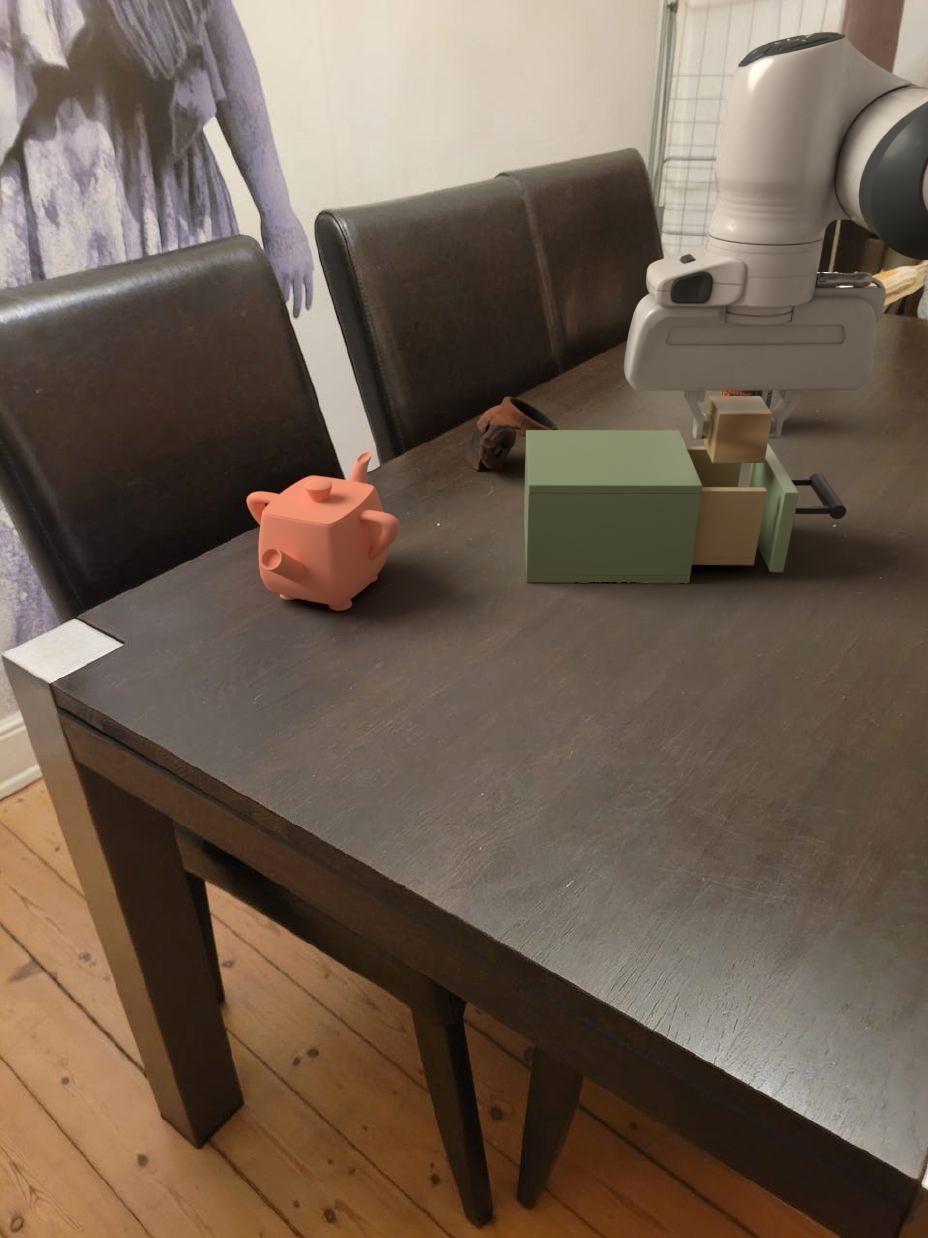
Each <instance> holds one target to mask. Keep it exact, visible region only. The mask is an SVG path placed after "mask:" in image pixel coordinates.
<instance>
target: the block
mask: <svg viewBox="0 0 928 1238" xmlns="http://www.w3.org/2000/svg"><path fill="white" fill-rule="evenodd" d="M707 403H708V404H707V411H706V414H711V416H712V418H713V420H714V427H713V430H712V432H713V434H712V439H703V441H702V442H703V443H702V444H703V446H705V448H706V450H707V452H708V455H709V457H710V459H711V461H712V463H741V464H751V463H764V462H765V456H766V450H767V444H768V443H769V439H768V438H769V433H770V427H771V421H772V415H773V414H772V410H770V409H771V408H770V409H769V408H768V407H767V405H766V404H765V402H764V401H763V399H762V398H761V397H760V396H721V395H720V396H719V395H718V396H717V395H716V396H715V395H712V396H711V395H710V396H709V397H708V402H707Z"/></svg>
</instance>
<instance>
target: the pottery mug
mask: <svg viewBox="0 0 928 1238" xmlns="http://www.w3.org/2000/svg"><path fill="white" fill-rule="evenodd" d="M516 430H519V435H520V436H521V437H524V438H526V430H559V428H558V426H557V425H556V424H555V423H554V422H553V421H552V419H550V418H549V417H548V416H547V415H545V413H543V412H542V411H540V410H538V409H537V408H536V407H534V406H532V405H531V404H530V403H527V402H526V401H523V400H521V399H519V398H516V397H513V396H505V397H504V398H503V400H502V402H501V404H499V405H495V406H493V407H491V408H488V410H486V411H485V412H484V413H483V414H482V415H481V416H480V418H479V419H478V420H477V422H476V424H475V426H474V429H473V431H472V434H471V437H470V440H469V444H468V449H467V453H466V454H465V455H466V457H465V458H466V460H467V462H468V464H469V465H470V466H471V467H473V469H474V470H475V471H477V472H479V471H480V470H481V468H482V463H483V465H484V466H485V468H487V469H488V470H495V471H498V470H502V468H503V465H504V464H505V461H506V458H507V456H508V454H509V453H510V452H511V450H512V448H513V447H514V446H515V444H516V438H517V431H516Z"/></svg>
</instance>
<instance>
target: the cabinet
mask: <svg viewBox="0 0 928 1238" xmlns="http://www.w3.org/2000/svg"><path fill="white" fill-rule="evenodd" d="M524 455H525V458H524V459H525V460H524V497H523V498H524V503H523V508H524V509H523V526H524V527H523V530H524V534H523V535H524V558H525V559H524V560H525V582H526V583H545V584H547V583H549V584H551V583H552V584H553V583H557V584H559V583H560V584H561V583H563V584H564V583H567V584H568V583H569V584H576V583H575V582H578V583H577V584H592V583H591V582H595V583H594V584H597V583H596V582H599V583H598V584H602V583H601V582H610V583H609V584H612V583H611V582H617V583H616V584H622V583H621V582H627V583H626V584H631V583H630V582H637V583H636V584H639V583H638V582H643V583H642V584H645V583H644V582H651V583H650V584H679V583H685V584H686V585H687V583H689V584H690V581H691V573H692V566H693V565H692V560H693V552H694V545H695V538H696V530H697V523H698V516H699V508H700V501H701V493H702V484H701V481H700V479H699V477H698V474H697V472H696V469H695V467H694V465H693V462H692V460H691V458H690V455H689V453H688V450H687V448H686V443H685V441H684V438H683V436H682V433H681V432H680V430H678V429H677V430H676V429H674V430H673V429H660V430H659V429H649V430H648V429H623V430H622V429H607V430H606V429H558V430H526V437H525V454H524ZM589 582H590V583H589ZM653 582H654V583H653ZM685 584H684V585H685Z"/></svg>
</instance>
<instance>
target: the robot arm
mask: <svg viewBox="0 0 928 1238" xmlns="http://www.w3.org/2000/svg"><path fill="white" fill-rule="evenodd" d="M724 103H725V104H724V107H723V108H724V109H723V113H722V119H721V124H720V129H719V135H718V136H719V138H718V142H717V143H718V144H717V150H716V156H715V157H716V158H715V166H714V180H715V187H716V201H715V207H714V211H713V214H712V215H711V219H710V221H709V223H708V228H707V235H706V242H705V244H702V245H700V246H697V247H694V248H691V249H689V250H686V251H683V252H680V253H676V254H674V255H671V256H668V257H664V258H662V259H658V260H655V261H653V262H652V263H650V264H649V265H648V267H647V269H646V276H645V284H646V285H645V286H646V289H647V291H648V294H646V295H645V296H644V297H642V298H641V299H640V301H639V302H638V303H637V305H636V307H635V309H634V311H633V315H632V319H631V322H630V326H629V330H628V336H627V340H626V347H625V353H624V363H623V372H624V377H625V379H626V381H627V383H628V384H629V385H630V387H631V388H632V389H633V390H634V391H636V392H683V396H684V398H685V400H686V402H687V404H688V407H689V408H690V411H691V412H692V415H693V423H692V436H693V438H694V439H695V440H704V439H712V434H713V432H712V430H713V427H714V420H713V418H712V416H711V414H707V413H703V412H702V410H701V408H700V406H699V404H698V403H704V402H705V398H706V392H710V391H711V392H718V391H719V392H722V391H757V390H773V391H777V393H778V394H779V396H780V400H779V401H778V403H777V404H776V406H775V407H774V408H773V409H772V410H771V412H772V414H773V415H772V421H771V427H770V433H769V438H768V440H779V439H780V438H781V436H782V432H783V431H782V430H783V424H784V421H786V420H787V419H788V418H789V417H790V415H791V414H792V413H793V411H795V409H796V408H797V407H798V406H799V404H800V403H801V399H802V394H803V391H856V390H857V391H858V390H860V389H861V388H862V387H863V386H864V385H865V384H866V383H867V382H868V381H869V380H870V379H871V376H872V371H873V364H874V358H875V351H876V350H875V349H876V331H877V325H876V324H878V322H879V321H880V320H881V318H882V316H883V312H884V307H885V304H886V299H887V290H886V287H885V285H884V284H883V282H882V281H881V280H880V279H878V278H876V277H873V275H872V273H870V272H865V271H855V272H852V273H845V272H837V271H835V272H834V271H832V272H831V271H830V272H825V271H819V268H820V261H821V257H822V251H823V245H824V240H825V235H826V229H827V228H828V226H829V225H830V224H831V223H832V222H834V221H838V220H839V221H841V220H848V221H850V220H851V221H852V222H853V223H855V224H856V225H858V226H860V227H862V228H864V229H866V230H868V231H870V232H871V233H873V234H874V235H875V236H876V237H877V238H878V239H880V241H882V242H883V243H884V244H885V245H887V246H888V247H889V249H891V250H893V251H894V252H895V253H897V254H899V255H901V256H904V257H906V258H909V259H914V260H919V261H928V87H926V86H920V85H917V84H914V83H913V82H912V81H910V80H907V79H905V78H903V77H900V76H898V75H896V74H894V73H892V72H890V71H889V70H886V69H885V68H883V67H882V66H880V65H878V64H877V63H875V62H873V61H872V60H870V59H869V58H868V57H867V56H865V55H864V54H863V53H862V52H861V51H859V50H858V49H857V48H856V47H855V46H854V45H853V44H852V42H851V41H850V39H849V38H848V36H847V35H845V34H843V33H839V32H835V31H819V32H813V33H811V34H806V35H805V34H801V35H795V36H790V37H786V38H782V39H778V40H774V41H771V42H768V43H765V44H762V45H759V46H757V47H755V48H753V50H751V51H750V52H748V53H747V54H746V55H745V56H744V57H743V59H742V60H741V61H740V62H739V63H738V64H737V66H736V69H735V71H734V73H733V75H732V77H731V81H730V85H729V87H728V91H727V95H726V99H725V102H724ZM871 284H874V285H871Z"/></svg>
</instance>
